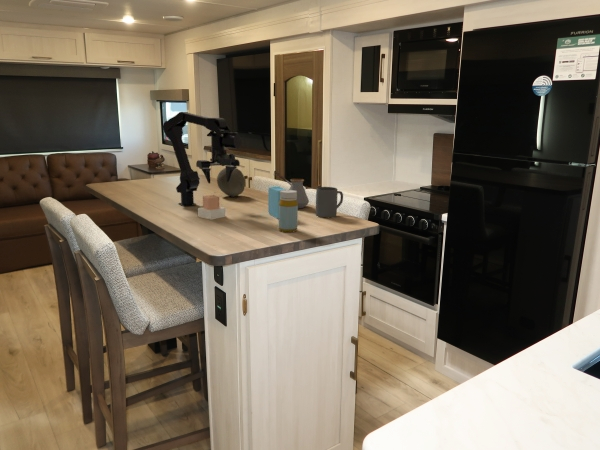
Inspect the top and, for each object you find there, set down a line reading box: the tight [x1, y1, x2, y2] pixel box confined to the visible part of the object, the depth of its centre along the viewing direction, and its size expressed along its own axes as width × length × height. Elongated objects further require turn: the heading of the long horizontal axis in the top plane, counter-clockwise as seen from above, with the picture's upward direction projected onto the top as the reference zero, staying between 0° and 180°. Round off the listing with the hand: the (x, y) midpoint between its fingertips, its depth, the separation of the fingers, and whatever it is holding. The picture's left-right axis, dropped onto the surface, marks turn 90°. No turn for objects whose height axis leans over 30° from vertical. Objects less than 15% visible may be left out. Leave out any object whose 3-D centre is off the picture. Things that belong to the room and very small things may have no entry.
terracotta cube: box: [202, 194, 221, 210], centre depth 196 cm, size 5×5×5 cm
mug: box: [315, 186, 344, 219], centre depth 204 cm, size 14×9×12 cm
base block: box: [197, 206, 226, 220], centre depth 198 cm, size 8×8×4 cm
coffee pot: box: [273, 171, 310, 209], centre depth 223 cm, size 21×12×15 cm, turn 45°
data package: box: [267, 186, 287, 220], centre depth 200 cm, size 12×4×12 cm, turn 24°
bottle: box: [278, 189, 299, 233], centre depth 176 cm, size 7×7×15 cm
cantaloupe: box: [216, 167, 246, 198], centre depth 241 cm, size 14×14×15 cm
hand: (218, 182), depth 210 cm, fingers open, 9 cm apart
